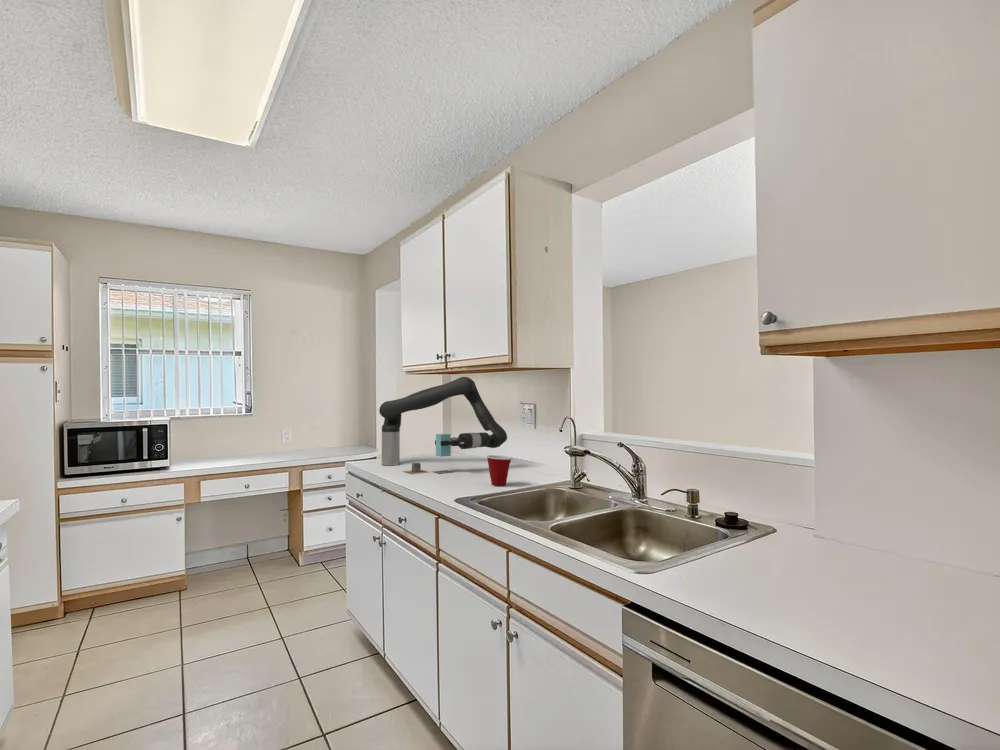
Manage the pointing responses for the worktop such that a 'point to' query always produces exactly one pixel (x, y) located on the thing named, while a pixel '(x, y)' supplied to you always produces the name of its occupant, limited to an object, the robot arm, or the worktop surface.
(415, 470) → the walnut base
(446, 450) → the teal block
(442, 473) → the coaster mat
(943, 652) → the worktop surface
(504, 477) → the plastic cup
